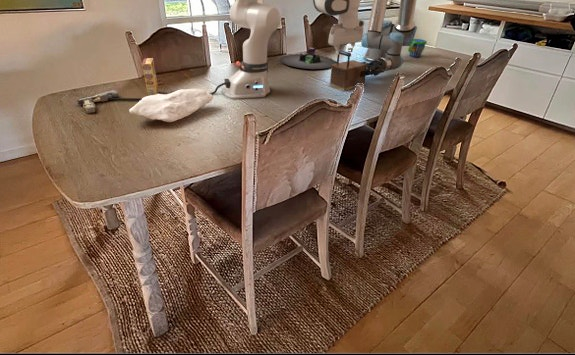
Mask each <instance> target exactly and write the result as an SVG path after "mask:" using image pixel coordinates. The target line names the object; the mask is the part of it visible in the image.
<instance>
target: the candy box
mask: <svg viewBox="0 0 575 355" xmlns="http://www.w3.org/2000/svg"><path fill="white" fill-rule="evenodd" d="M141 66H142V73H143V78H144V82H145V87H146V92H147V96H150V95H156V94H159V91H160V90H159V84H158V79H157V73H156V66H155V62H154V58H153V57H151V58H150V57H149V58H146V57H145V58H143V60H142V63H141Z"/></svg>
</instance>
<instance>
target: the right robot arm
mask: <svg viewBox="0 0 575 355" xmlns="http://www.w3.org/2000/svg"><path fill="white" fill-rule="evenodd" d="M387 5H388V0H372V5H371V10H370V14H369V15H370V16H369V20H368V26H367V31H366V32H363V37H362V40H361V41H360V42H361V43H360V44H361V45H360V46H361V47H362V48H366V52H365V54H364V58H363V59H364V60H365V61H360V62H361V63H364V64H367V70H365V71H361V75H360V77H363V76H366V77H367V76H374V77H377V76H379V75H380V74H382V73H385V72H388V71H393V70H396V69H399V68H401V67H402V65H403V63H404V60H403V56H402V55H401V53H402V49H403V47H409V46H411V45H412V42H413V39H415V35H416V33H417V30H418V26H416V22H415V21H414V19H415V18H414V17H415V12H416V11H415V10H416V5H417V0H399V9H398V16H397V20H396V21H395V22H394V23H393V21H392V20H385V16H386V10H387V7H388V6H387Z"/></svg>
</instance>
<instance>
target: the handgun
mask: <svg viewBox="0 0 575 355" xmlns="http://www.w3.org/2000/svg"><path fill="white" fill-rule="evenodd" d="M119 96H120V94H119V92H118V91H117V90H116V89H112V90H108V91H105V92H104V91H103V92H101V93H96V94H94V95H86V94H85V95H84V94H83V95H81V96H80V97H77V98H76V101H77V104H78V105H82V108H83V109H84V110H85V113H87V114H91V113H95V112H96V104H95V103H98V102H106V101H109V100H108V98H119Z"/></svg>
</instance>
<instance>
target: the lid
mask: <svg viewBox="0 0 575 355" xmlns="http://www.w3.org/2000/svg"><path fill="white" fill-rule="evenodd" d="M339 50H340V51H341V52H340V54H338V55H337V58H336V62H337V63H336V64H331V67H330V68H332V67H333V68H336V69H339V70H342V71H349V70H353V69H358V68H362V67H366V66H367V64H364V63H361V62H362V61H359V60H358V61H357V60H354V59H352V60H350V59H351V57H352V52H348V51H345V50H342V49H339ZM340 55H341V56H345V57H347V60H345V61H341V62H340Z"/></svg>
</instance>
